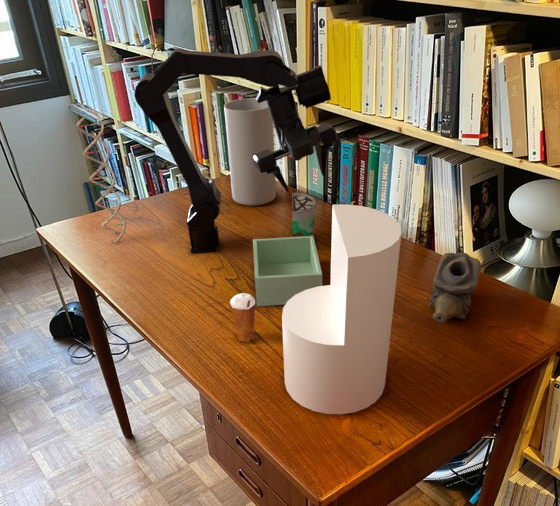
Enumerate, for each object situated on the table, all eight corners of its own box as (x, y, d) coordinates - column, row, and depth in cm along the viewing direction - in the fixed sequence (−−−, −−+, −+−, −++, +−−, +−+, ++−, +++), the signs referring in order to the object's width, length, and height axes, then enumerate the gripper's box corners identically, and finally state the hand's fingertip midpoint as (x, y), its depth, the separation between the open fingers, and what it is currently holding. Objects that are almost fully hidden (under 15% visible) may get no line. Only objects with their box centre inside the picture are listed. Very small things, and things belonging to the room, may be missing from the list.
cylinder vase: (228, 206, 157) (218, 110, 141) (238, 189, 167) (230, 98, 151) (271, 207, 155) (267, 111, 140) (279, 190, 165) (275, 98, 149)
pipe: (473, 291, 118) (482, 248, 111) (475, 353, 102) (485, 306, 95) (429, 287, 120) (436, 244, 113) (424, 347, 103) (431, 300, 97)
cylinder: (375, 347, 104) (388, 201, 86) (394, 411, 90) (414, 253, 73) (282, 352, 104) (276, 207, 86) (287, 417, 90) (281, 261, 73)
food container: (318, 252, 134) (318, 212, 128) (292, 252, 134) (291, 212, 128) (317, 229, 144) (317, 191, 137) (293, 230, 144) (292, 192, 137)
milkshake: (242, 349, 105) (237, 303, 99) (230, 335, 109) (225, 290, 102) (263, 342, 106) (260, 296, 100) (251, 328, 110) (247, 283, 104)
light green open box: (256, 306, 116) (254, 278, 112) (254, 265, 130) (253, 239, 126) (322, 302, 117) (322, 274, 112) (313, 262, 130) (313, 235, 126)
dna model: (106, 232, 147) (76, 110, 128) (131, 231, 147) (104, 108, 128) (101, 244, 141) (68, 118, 122) (126, 243, 141) (98, 116, 122)
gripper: (254, 141, 114) (278, 211, 123) (337, 105, 114) (355, 177, 124) (242, 130, 122) (265, 195, 132) (320, 96, 123) (337, 164, 133)
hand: (305, 183), depth 130 cm, fingers open, 9 cm apart
